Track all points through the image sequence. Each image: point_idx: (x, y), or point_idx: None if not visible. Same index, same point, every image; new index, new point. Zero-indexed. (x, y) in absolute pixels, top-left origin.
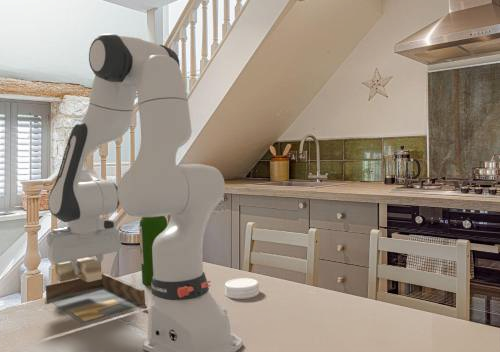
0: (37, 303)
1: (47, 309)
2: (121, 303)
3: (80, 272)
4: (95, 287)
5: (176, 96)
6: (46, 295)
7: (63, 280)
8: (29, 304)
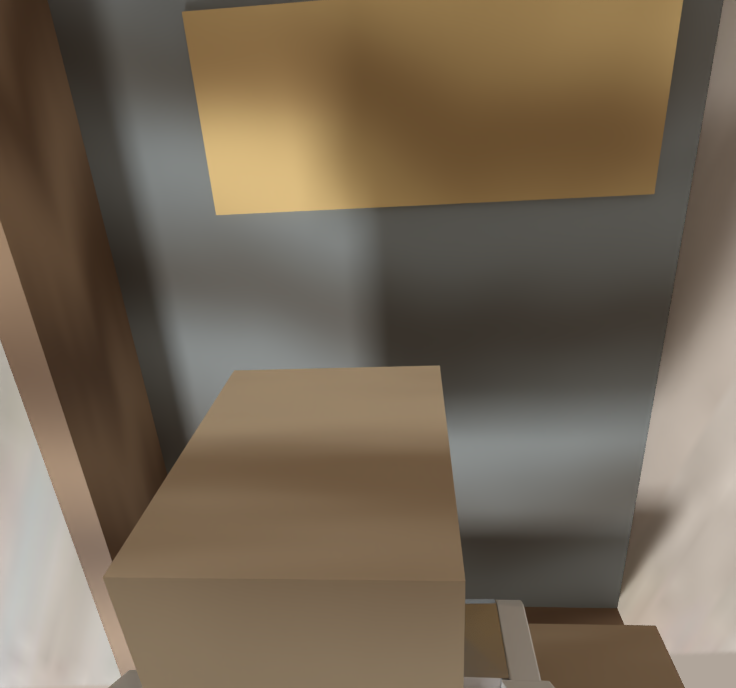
0: (677, 605)
1: (703, 442)
2: (174, 23)
3: (469, 616)
4: None
5: None
6: None
7: (624, 635)
8: (723, 622)
